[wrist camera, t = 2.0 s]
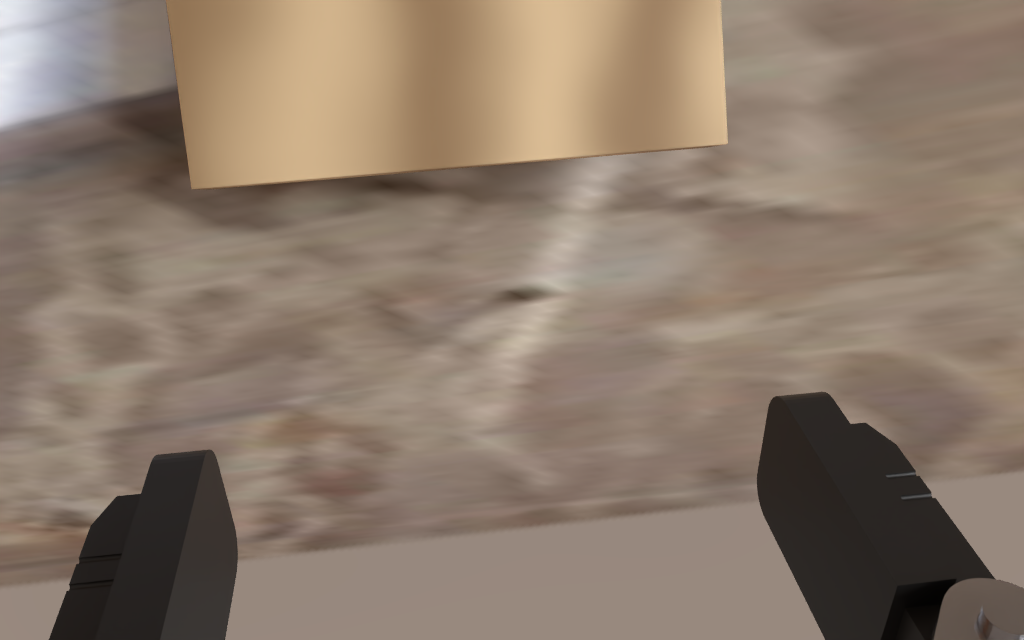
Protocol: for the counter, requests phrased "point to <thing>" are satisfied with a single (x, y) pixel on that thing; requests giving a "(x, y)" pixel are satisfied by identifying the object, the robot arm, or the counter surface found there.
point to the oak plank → (439, 84)
